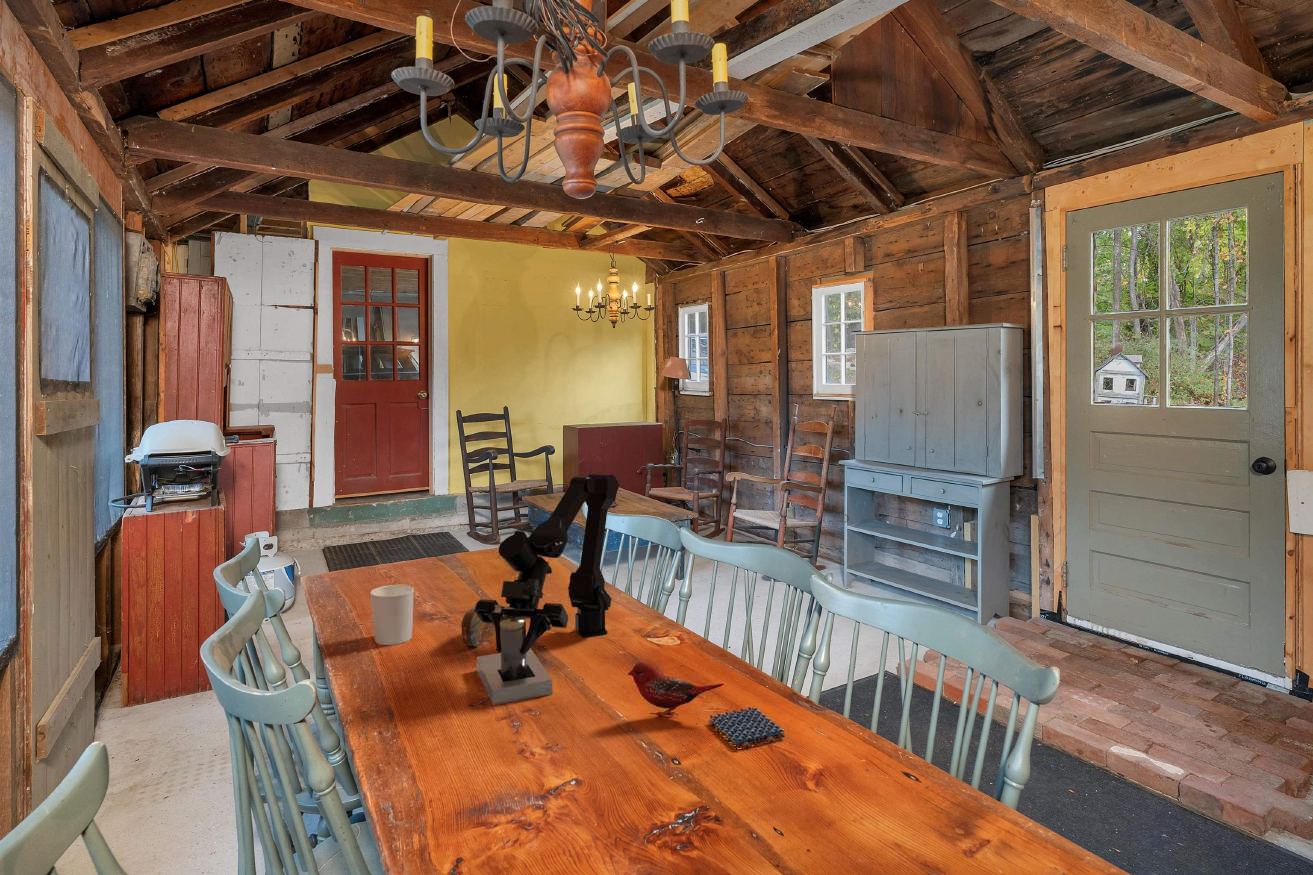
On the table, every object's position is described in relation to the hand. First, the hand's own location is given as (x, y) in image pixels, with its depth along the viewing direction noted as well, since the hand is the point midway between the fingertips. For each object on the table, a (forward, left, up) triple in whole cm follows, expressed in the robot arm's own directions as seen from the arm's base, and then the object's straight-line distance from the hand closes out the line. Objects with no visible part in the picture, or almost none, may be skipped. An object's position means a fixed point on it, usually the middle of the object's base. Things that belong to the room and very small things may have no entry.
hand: (510, 652), depth 135 cm
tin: (+1, -31, -8) cm, 32 cm away
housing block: (-1, -4, -8) cm, 9 cm away
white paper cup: (+20, -40, -8) cm, 45 cm away
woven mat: (-34, +33, -8) cm, 48 cm away
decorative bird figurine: (-25, +23, -8) cm, 35 cm away
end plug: (-1, -1, -7) cm, 7 cm away
